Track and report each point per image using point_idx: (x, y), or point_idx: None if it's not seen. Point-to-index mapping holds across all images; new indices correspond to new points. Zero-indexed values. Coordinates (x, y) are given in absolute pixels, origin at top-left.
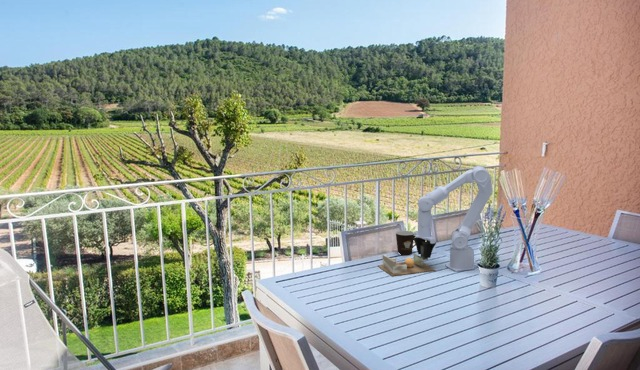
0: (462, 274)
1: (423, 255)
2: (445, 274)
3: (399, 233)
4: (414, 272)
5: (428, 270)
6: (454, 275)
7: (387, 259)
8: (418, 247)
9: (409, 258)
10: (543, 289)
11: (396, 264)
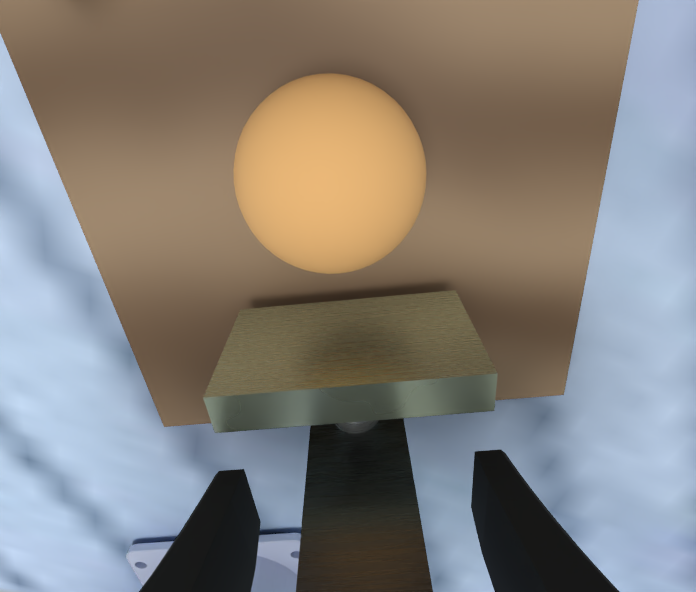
0: (61, 555)
1: (306, 486)
2: (52, 454)
3: None
4: (46, 133)
5: (143, 352)
6: (26, 503)
7: None
8: (534, 590)
9: (303, 197)
10: None
11: None
